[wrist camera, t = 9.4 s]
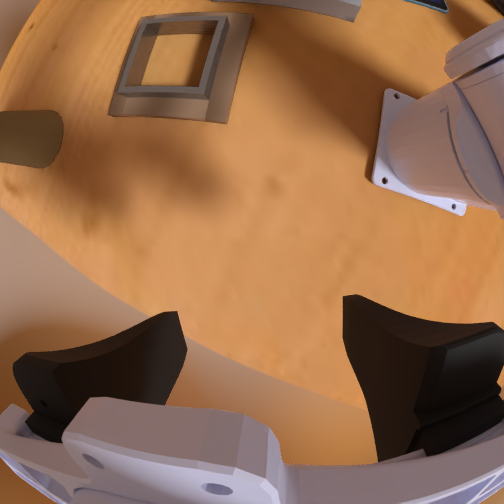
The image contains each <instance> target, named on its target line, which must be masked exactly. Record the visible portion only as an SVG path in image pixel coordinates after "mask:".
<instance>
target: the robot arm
mask: <svg viewBox="0 0 504 504" xmlns="http://www.w3.org/2000/svg"><path fill="white" fill-rule="evenodd" d="M445 63H446V64H447V65H445V66H444V71H445V72H446V74H447V75H448V76H449V78H450V79H453V78H455V77H457V76H459V77H458V78H456V79H454V80H453V81H451V82H450V83H448V84H446V85H444V86H442V87H440V88H438V89H436V90H435V91H433V92H431V93H429V94H427V95H425V96H423V97H421V98H420V99H418V100H417V99H415V98H413V97H410V96H408V95H406V94H403V93H401V92H399V91H396V90H394V89H391V88H388V89H386V90H385V91H384V97H383V106H382V114H381V122H380V129H379V136H378V143H377V149H376V155H375V160H374V166H373V171H372V176H371V180H372V183H373V184H374V185H376V186H380V187H383V188H386V189H389V190H392V191H395V192H398V193H401V194H404V195H407V196H410V197H412V198H415V199H418V200H421V201H423V202H426V203H429V204H431V205H434V206H437V207H439V208H442V209H444V210H447V211H449V212H452V213H454V214H456V215H459V216H463V215H464V214H465V211H466V206H467V205H468V206H473V207H478V208H484V209H488V210H493V211H498V212H499V215H500V217H501V219H503V220H504V18H503V19H501V20H499V21H497V22H495V23H493V24H491V25H489V26H488V27H486V28H484V29H482V30H480V31H479V32H477V33H475V34H474V35H472V36H470V37H469V38H467V39H466V40H464V41H462V42H461V43H459V44H458V45H457V46H455V47H454V48H452V49H451V50H450V51H449V52H447V53H446V60H445ZM460 75H461V76H460ZM394 94H395V95H397V97H398V99H396V98H395V97H394ZM382 178H385V179H386V183H385V184H383V183H382ZM452 204H453V205H454V207H453V209H452ZM343 341H344V345H345V349H346V352H347V356H348V358H349V361H350V363H351V365H352V368H353V370H354V372H355V375H356V377H357V379H358V382H359V384H360V386H361V389H362V391H363V394H364V397H365V400H366V403H367V407H368V411H369V415H370V419H371V424H372V429H373V434H374V439H375V445H376V451H377V457H378V463H374V464H367V465H347V466H346V465H341V466H329V465H327V466H325V465H302V464H289V463H283V461H282V459H281V454H280V446H279V442H278V440H277V438H276V437H275V435H274V434H273V432H272V431H271V429H270V428H269V427H268V426H266V425H264V424H262V423H260V422H258V421H256V420H254V419H252V418H250V417H248V416H246V415H245V414H243V413H237V412H231V411H225V410H220V409H211V408H189V407H176V406H165V404H166V401H167V399H168V397H169V395H170V393H171V391H172V389H173V386H174V384H175V382H176V380H177V378H178V376H179V374H180V372H181V369H182V367H183V364H184V361H185V357H186V353H187V346H186V342H185V339H184V335H183V332H182V328H181V324H180V320H179V316H178V313H177V311H171V312H163V313H160V314H157V315H155V316H153V317H151V318H149V319H147V320H145V321H143V322H141V323H139V324H137V325H135V326H133V327H131V328H129V329H127V330H125V331H122V332H120V333H118V334H116V335H114V336H111V337H109V338H107V339H104V340H101V341H98V342H95V343H92V344H88V345H84V346H80V347H76V348H71V349H66V350H59V351H51V352H50V351H48V352H28V353H25V354H24V355H23V356H21V357H20V358H19V359H18V360H17V361H15V362H14V363H13V374H14V377H15V379H16V382H17V384H18V386H19V388H20V389H21V391H22V393H23V394H24V396H25V398H26V399H27V401H28V402H29V404H30V405H31V407H32V409H33V410H34V412H33V413H32V414H31V415H30V414H29V413H28V412H27V411H25V410H24V409H22V408H20V407H18V406H16V405H14V404H11V405H10V406H9V407H8V408H7V409H6V410H5V411H4V412H3V413H2V414H1V415H0V457H1V458H2V459H3V460H4V461H5V462H6V463H7V465H8V466H9V467H10V468H11V469H12V470H13V471H14V472H15V473H16V474H17V475H18V476H20V477H21V478H22V479H24V480H25V481H26V482H28V483H29V484H30V485H32V486H33V487H34V488H36V489H37V490H39V491H40V492H41V493H43V494H44V495H46V496H47V497H49V498H50V499H52V500H53V501H55V502H56V503H58V504H479V503H480V502H482V501H483V500H485V499H486V498H488V497H489V496H491V495H492V494H493V493H495V492H496V491H498V490H499V489H500V488H502V487H503V486H504V400H502V399H501V397H500V396H499V395H498V394H500V392H501V387H500V386H499V385H498V384H497V380H498V378H499V376H500V373H501V371H502V368H503V366H504V330H503V329H501V328H500V327H499V326H498V325H497V324H495V323H494V322H486V323H473V324H456V323H443V322H436V321H429V320H424V319H420V318H416V317H412V316H409V315H406V314H403V313H400V312H397V311H395V310H392V309H390V308H387V307H385V306H383V305H380V304H378V303H376V302H374V301H372V300H370V299H367V298H365V297H363V296H360V295H357V294H355V295H348V296H343Z"/></svg>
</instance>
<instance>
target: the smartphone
mask: <svg viewBox="0 0 504 504" xmlns="http://www.w3.org/2000/svg"><path fill="white" fill-rule="evenodd" d="M404 1H407V2H408V1H409V2H411V3H415V4H418V5H422V6H426V7H428V8H431V9H434V10H437V11H439V12H442V13H447V12H448V11H449V8H448V5H447V3H446V1H445V0H404Z"/></svg>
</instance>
